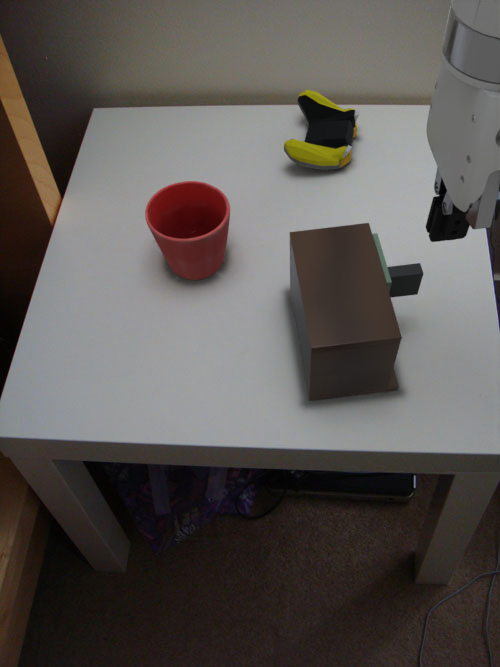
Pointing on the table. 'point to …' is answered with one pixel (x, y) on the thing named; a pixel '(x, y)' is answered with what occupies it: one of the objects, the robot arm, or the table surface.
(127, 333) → the table surface
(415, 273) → the sliding door
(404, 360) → the table surface
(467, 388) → the table surface
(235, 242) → the table surface
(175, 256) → the flower pot
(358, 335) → the cupboard
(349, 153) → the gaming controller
